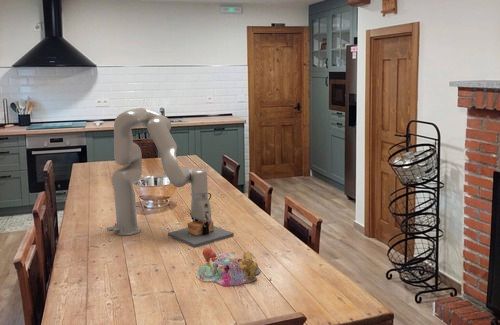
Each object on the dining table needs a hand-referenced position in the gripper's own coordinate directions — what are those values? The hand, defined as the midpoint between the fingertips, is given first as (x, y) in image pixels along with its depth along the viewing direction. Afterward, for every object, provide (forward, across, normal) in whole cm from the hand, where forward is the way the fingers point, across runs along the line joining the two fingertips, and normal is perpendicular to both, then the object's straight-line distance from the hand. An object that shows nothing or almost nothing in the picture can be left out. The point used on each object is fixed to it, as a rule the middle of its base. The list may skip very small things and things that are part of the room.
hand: (201, 232), depth 247 cm
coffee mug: (+2, +35, -26) cm, 43 cm away
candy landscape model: (+2, -44, +19) cm, 48 cm away
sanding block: (0, 0, 0) cm, 0 cm away
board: (+2, 0, 0) cm, 2 cm away
